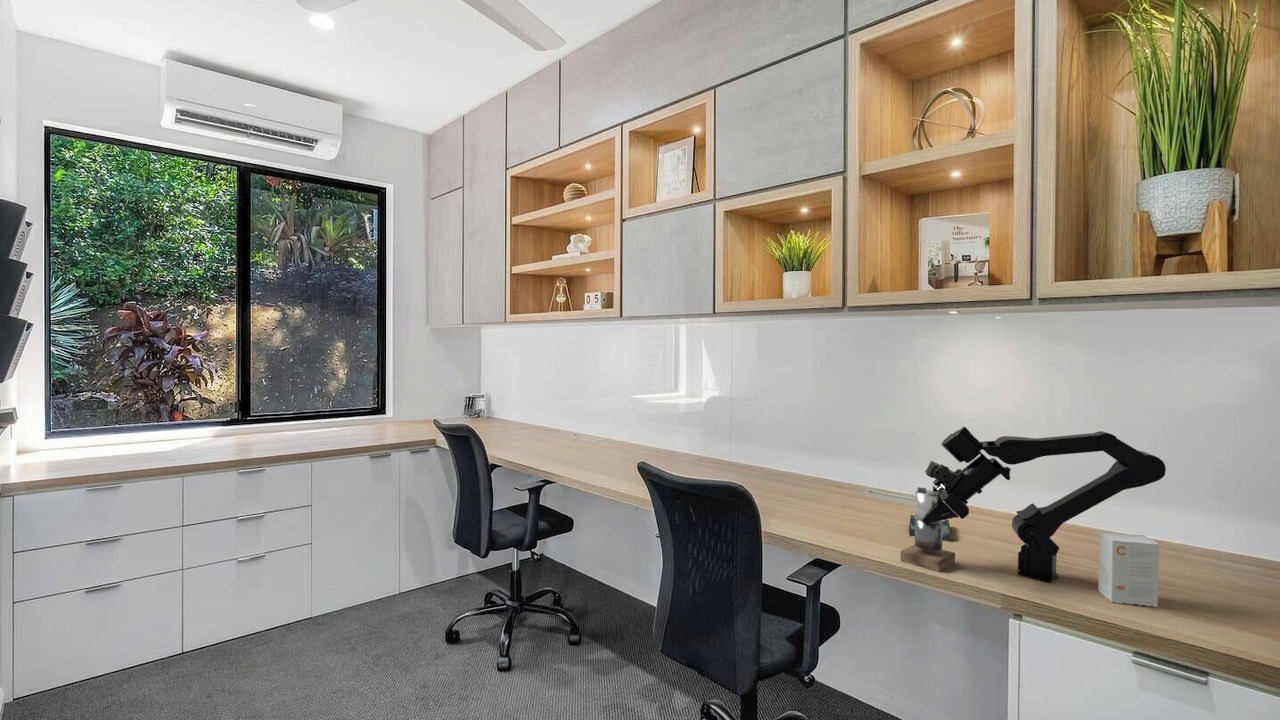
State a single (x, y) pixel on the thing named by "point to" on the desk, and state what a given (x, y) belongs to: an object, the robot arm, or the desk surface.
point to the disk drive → (944, 530)
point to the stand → (928, 558)
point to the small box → (1128, 568)
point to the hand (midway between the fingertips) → (922, 518)
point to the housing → (931, 532)
